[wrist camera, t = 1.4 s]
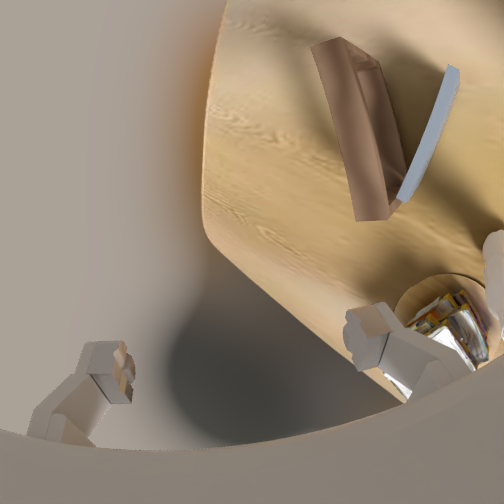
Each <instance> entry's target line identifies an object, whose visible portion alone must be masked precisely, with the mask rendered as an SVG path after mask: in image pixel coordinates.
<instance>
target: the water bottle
mask: <svg viewBox="0 0 504 504" xmlns="http://www.w3.org/2000/svg"><path fill="white" fill-rule="evenodd" d="M483 260H484V262H485V264H486V266H485V269H484V280H485V288H486V289H485V300H486V304H487V307H488V309H489V311H490V312H491V314H492V315H493V316H494V317H495V318H497V319H498V320H499V327H500V329H501V336H502V338H503V340H504V230H498V231H497V232H492V233H490V234H489V235H488V236H487V238H486V240H485V242H484V245H483Z"/></svg>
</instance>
